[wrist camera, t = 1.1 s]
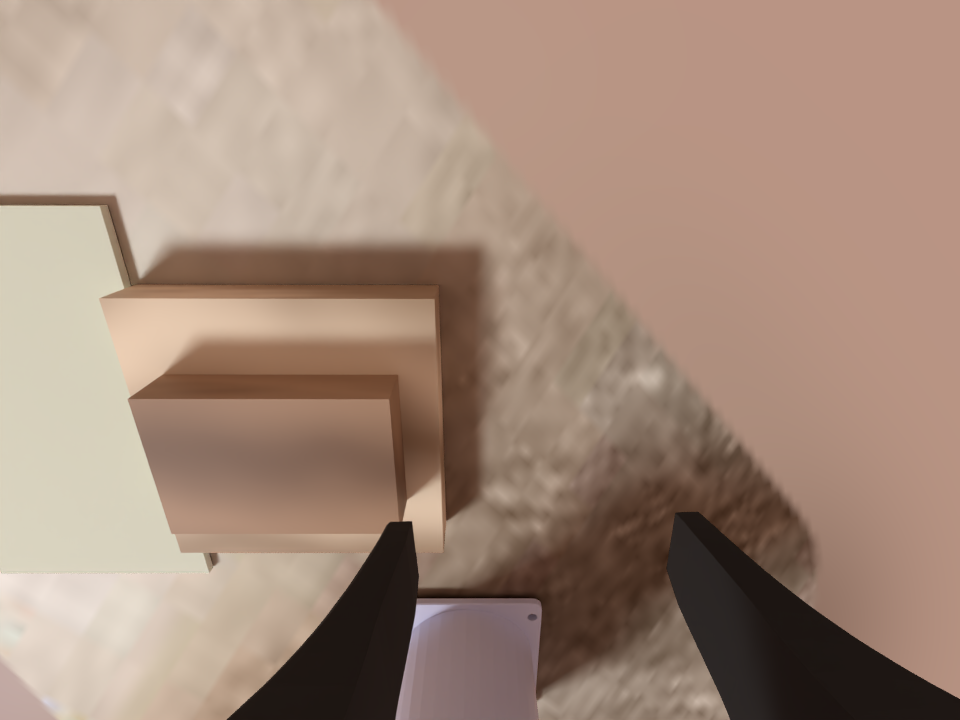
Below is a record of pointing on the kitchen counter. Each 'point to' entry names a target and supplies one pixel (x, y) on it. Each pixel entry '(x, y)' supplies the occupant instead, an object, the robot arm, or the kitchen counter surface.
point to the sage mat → (71, 407)
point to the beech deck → (299, 372)
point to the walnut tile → (274, 452)
